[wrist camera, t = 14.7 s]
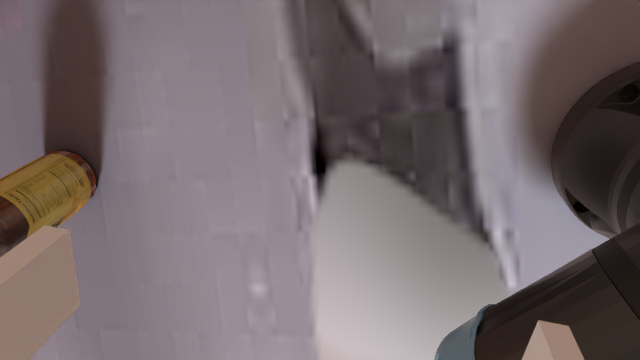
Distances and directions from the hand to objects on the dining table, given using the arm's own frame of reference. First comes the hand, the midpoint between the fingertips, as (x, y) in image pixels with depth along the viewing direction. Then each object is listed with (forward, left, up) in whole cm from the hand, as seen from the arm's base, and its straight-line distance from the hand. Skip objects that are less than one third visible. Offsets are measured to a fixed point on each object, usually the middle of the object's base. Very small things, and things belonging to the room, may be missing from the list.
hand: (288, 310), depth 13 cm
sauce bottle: (+28, +14, -29) cm, 43 cm away
